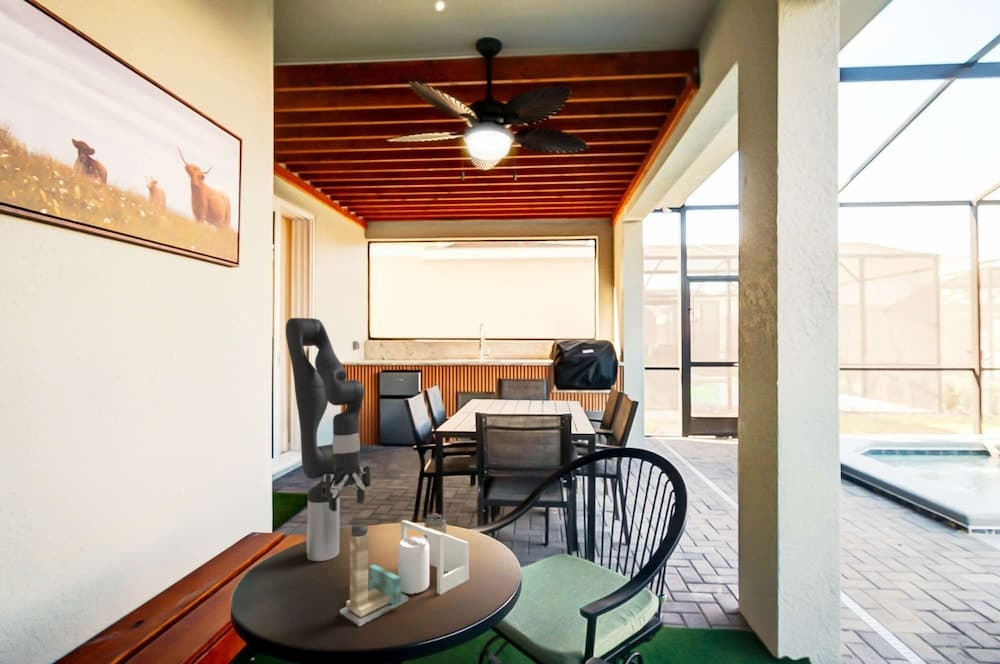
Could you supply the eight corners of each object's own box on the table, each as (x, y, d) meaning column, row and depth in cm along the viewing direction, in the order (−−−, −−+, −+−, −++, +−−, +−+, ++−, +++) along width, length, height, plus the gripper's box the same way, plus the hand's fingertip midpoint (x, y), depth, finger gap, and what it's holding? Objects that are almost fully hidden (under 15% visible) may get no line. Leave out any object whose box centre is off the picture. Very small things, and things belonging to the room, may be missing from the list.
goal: (400, 575, 129) (400, 520, 130) (429, 562, 137) (429, 510, 138) (440, 595, 119) (440, 535, 120) (468, 579, 127) (468, 523, 128)
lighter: (447, 544, 150) (447, 512, 151) (446, 549, 146) (445, 517, 147) (425, 544, 150) (425, 513, 151) (423, 549, 146) (423, 517, 147)
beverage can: (402, 599, 117) (403, 550, 118) (394, 584, 124) (394, 539, 125) (433, 591, 121) (433, 544, 121) (423, 577, 128) (423, 533, 129)
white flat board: (340, 613, 111) (340, 609, 111) (388, 590, 121) (388, 586, 121) (359, 626, 106) (359, 621, 106) (408, 600, 116) (408, 596, 116)
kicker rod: (339, 604, 112) (340, 523, 113) (374, 588, 120) (374, 512, 120) (365, 621, 105) (366, 534, 106) (400, 603, 113) (401, 522, 113)
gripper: (360, 444, 142) (361, 498, 141) (316, 452, 132) (317, 511, 130) (374, 446, 138) (375, 502, 137) (330, 455, 127) (331, 516, 126)
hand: (347, 506), depth 133 cm, fingers open, 8 cm apart
